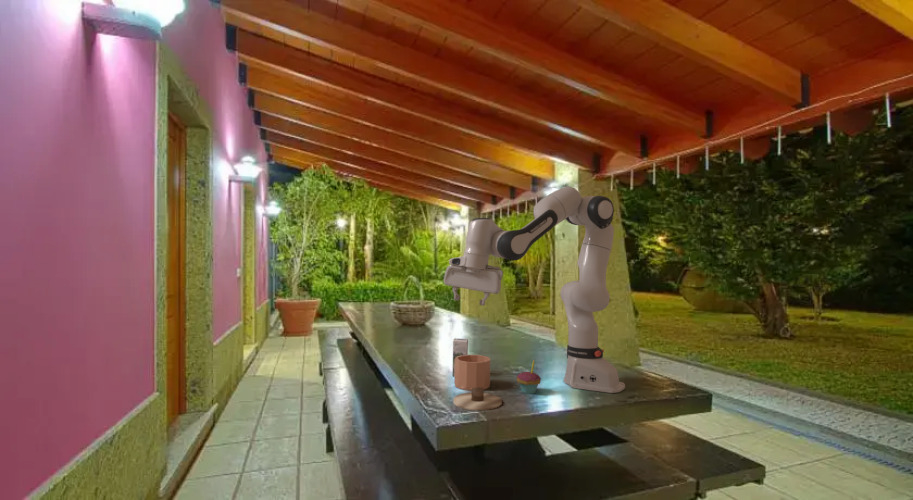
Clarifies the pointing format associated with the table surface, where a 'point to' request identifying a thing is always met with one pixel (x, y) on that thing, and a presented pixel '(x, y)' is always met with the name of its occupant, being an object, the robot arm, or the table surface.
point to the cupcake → (528, 381)
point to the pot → (472, 372)
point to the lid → (477, 400)
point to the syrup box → (459, 350)
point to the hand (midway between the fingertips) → (469, 302)
